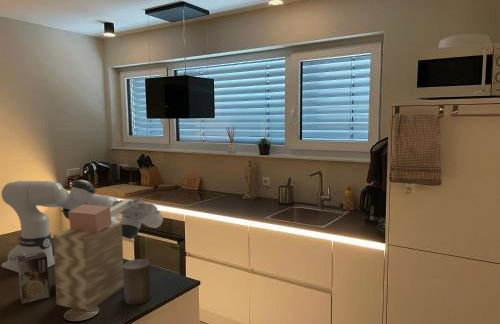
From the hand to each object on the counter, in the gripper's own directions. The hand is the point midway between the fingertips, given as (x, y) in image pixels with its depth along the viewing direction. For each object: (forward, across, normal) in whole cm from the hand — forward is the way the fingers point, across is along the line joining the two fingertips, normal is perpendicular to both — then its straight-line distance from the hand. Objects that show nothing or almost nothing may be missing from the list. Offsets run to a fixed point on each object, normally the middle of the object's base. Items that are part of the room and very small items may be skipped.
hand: (125, 202), depth 160 cm
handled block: (+7, 0, -9) cm, 11 cm away
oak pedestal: (+3, 0, -38) cm, 39 cm away
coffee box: (+10, +19, -43) cm, 48 cm away
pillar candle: (0, -18, -37) cm, 41 cm away
